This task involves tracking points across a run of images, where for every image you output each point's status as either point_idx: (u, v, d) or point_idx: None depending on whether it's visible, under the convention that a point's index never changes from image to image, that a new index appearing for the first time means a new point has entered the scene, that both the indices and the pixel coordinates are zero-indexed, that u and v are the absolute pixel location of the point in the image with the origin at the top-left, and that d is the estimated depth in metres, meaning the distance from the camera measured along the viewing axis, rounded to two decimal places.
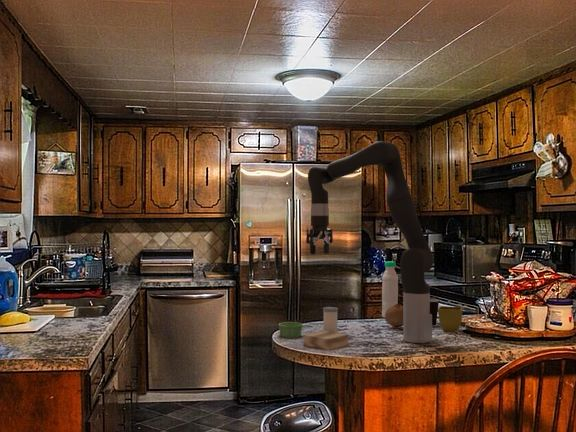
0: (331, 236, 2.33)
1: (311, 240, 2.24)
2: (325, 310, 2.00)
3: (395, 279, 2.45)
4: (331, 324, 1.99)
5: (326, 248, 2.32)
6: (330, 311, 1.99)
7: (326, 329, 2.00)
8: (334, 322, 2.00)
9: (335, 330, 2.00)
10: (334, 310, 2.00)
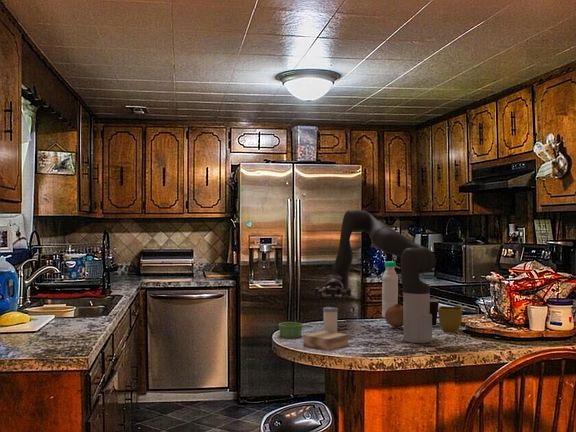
0: (349, 289, 2.19)
1: (316, 288, 2.20)
2: (325, 310, 2.00)
3: (395, 279, 2.45)
4: (331, 324, 1.99)
5: None
6: (330, 311, 1.99)
7: (326, 329, 2.00)
8: (334, 322, 2.00)
9: (335, 330, 2.00)
10: (334, 310, 2.00)
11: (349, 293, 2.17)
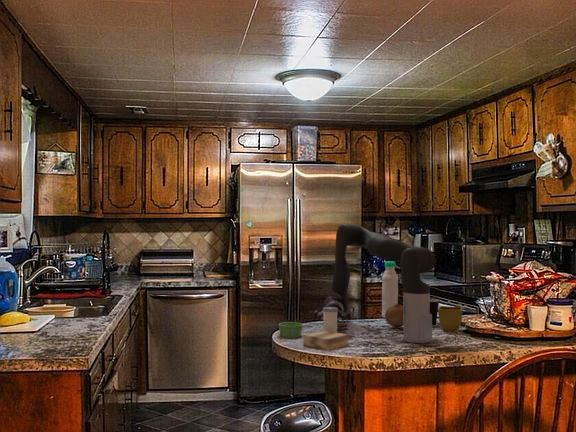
0: (349, 312, 2.13)
1: (315, 312, 2.13)
2: (325, 310, 2.00)
3: (395, 279, 2.45)
4: (331, 324, 1.99)
5: None
6: (330, 311, 1.99)
7: (326, 329, 2.00)
8: (334, 322, 2.00)
9: (335, 330, 2.00)
10: (334, 310, 2.00)
11: (349, 317, 2.10)
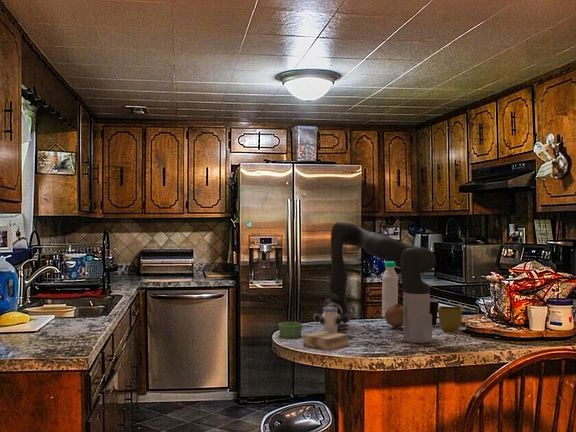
0: (346, 315, 2.06)
1: (317, 315, 2.06)
2: (325, 310, 2.00)
3: (395, 279, 2.45)
4: (331, 324, 1.99)
5: None
6: (330, 311, 2.00)
7: (326, 329, 2.00)
8: (334, 322, 2.00)
9: (335, 330, 2.00)
10: (334, 310, 2.00)
11: (344, 320, 2.03)
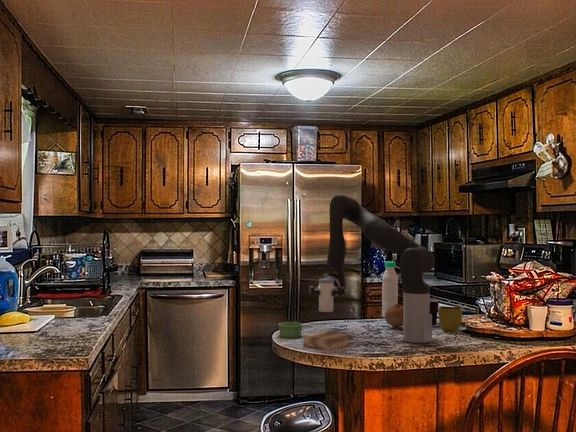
0: (342, 287, 1.96)
1: (312, 287, 1.96)
2: (320, 281, 1.91)
3: (395, 279, 2.45)
4: (327, 296, 1.90)
5: None
6: (326, 282, 1.90)
7: (321, 301, 1.90)
8: (329, 294, 1.90)
9: (331, 302, 1.91)
10: (330, 281, 1.90)
11: (340, 292, 1.93)
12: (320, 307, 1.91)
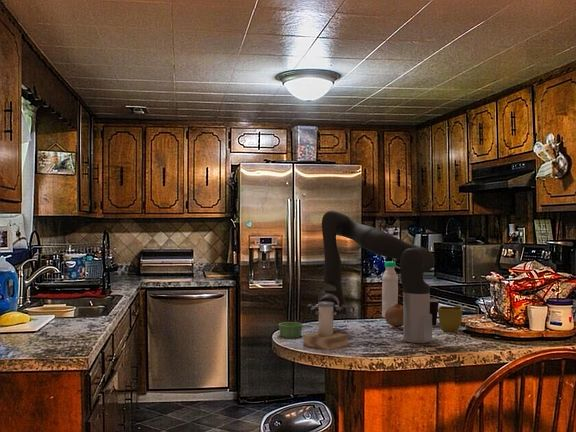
0: (344, 306, 1.95)
1: (309, 305, 1.95)
2: (320, 305, 1.89)
3: (395, 279, 2.45)
4: (327, 320, 1.88)
5: None
6: (325, 306, 1.88)
7: (321, 325, 1.89)
8: (329, 318, 1.88)
9: (331, 326, 1.89)
10: (330, 305, 1.88)
11: (344, 311, 1.92)
12: (320, 331, 1.89)
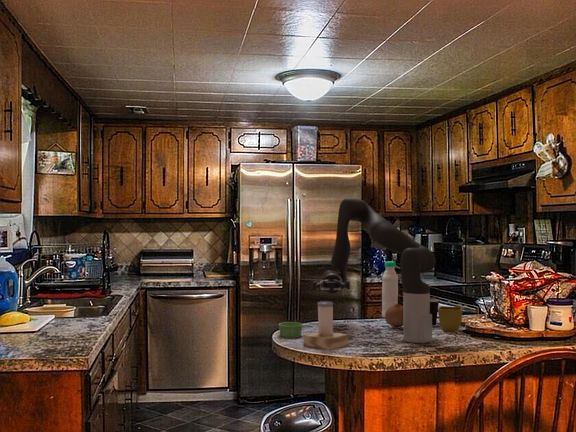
0: None
1: (314, 282, 2.11)
2: (320, 305, 1.89)
3: (395, 279, 2.45)
4: (326, 320, 1.88)
5: None
6: (325, 306, 1.88)
7: (321, 325, 1.89)
8: (329, 318, 1.88)
9: (330, 326, 1.89)
10: (329, 305, 1.88)
11: (348, 286, 2.08)
12: (320, 331, 1.89)
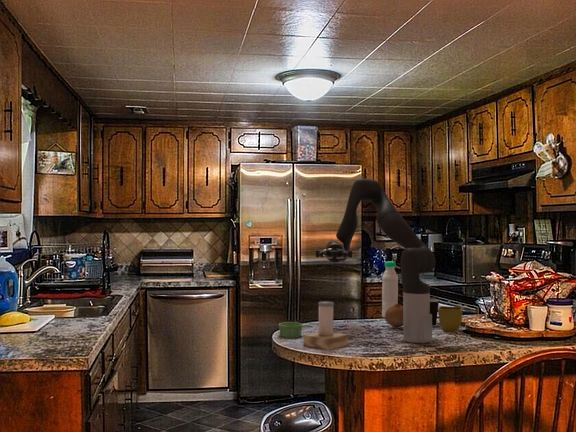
0: None
1: (317, 250, 2.16)
2: (320, 304, 1.89)
3: (395, 279, 2.45)
4: (327, 320, 1.88)
5: None
6: (326, 305, 1.88)
7: (321, 325, 1.89)
8: (329, 318, 1.89)
9: (331, 326, 1.89)
10: (330, 304, 1.89)
11: (351, 254, 2.13)
12: (320, 331, 1.89)
